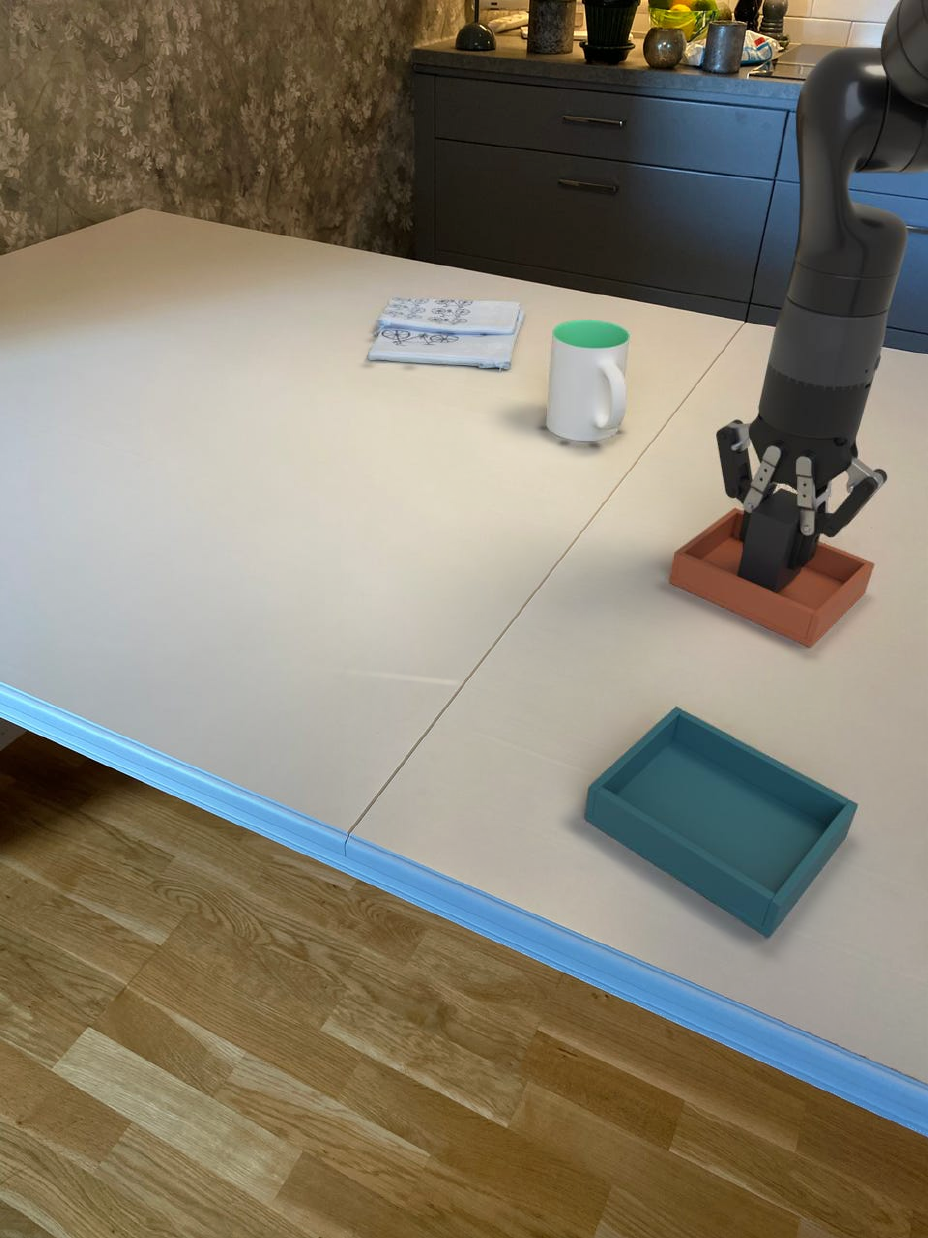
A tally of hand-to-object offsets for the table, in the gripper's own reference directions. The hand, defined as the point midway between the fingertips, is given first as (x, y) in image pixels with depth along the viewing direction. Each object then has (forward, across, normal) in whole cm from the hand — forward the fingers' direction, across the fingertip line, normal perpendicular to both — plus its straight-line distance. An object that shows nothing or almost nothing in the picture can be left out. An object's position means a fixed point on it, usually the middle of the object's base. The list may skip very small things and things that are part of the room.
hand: (773, 555), depth 82 cm
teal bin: (+3, +10, -26) cm, 29 cm away
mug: (+3, -28, +14) cm, 32 cm away
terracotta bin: (+3, 0, 0) cm, 3 cm away
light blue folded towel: (+4, -58, +22) cm, 63 cm away
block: (+2, 0, 0) cm, 2 cm away
